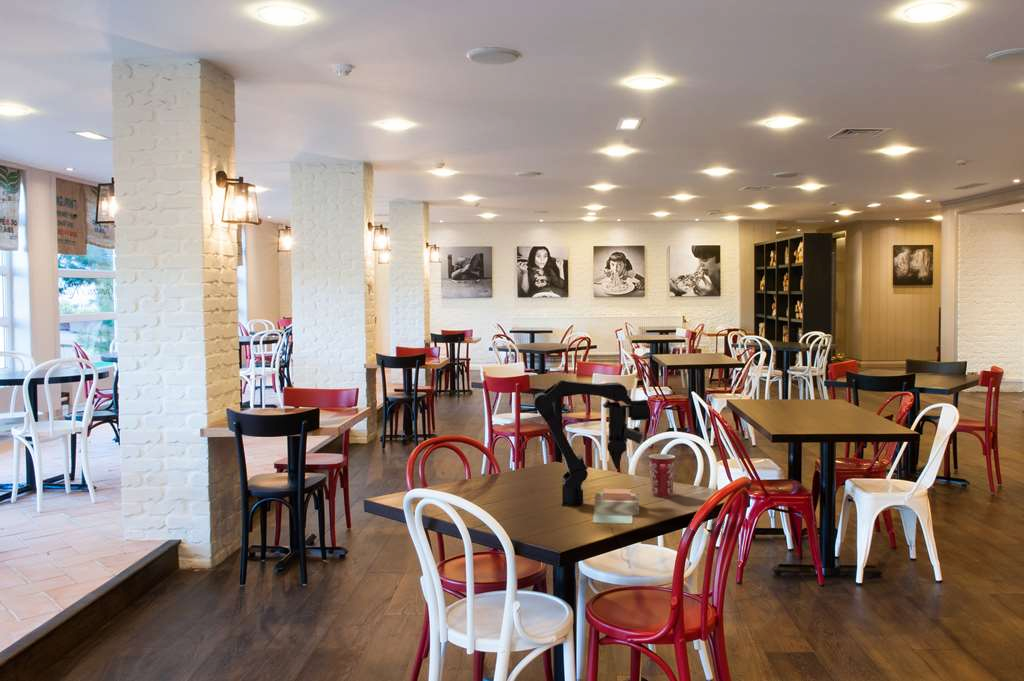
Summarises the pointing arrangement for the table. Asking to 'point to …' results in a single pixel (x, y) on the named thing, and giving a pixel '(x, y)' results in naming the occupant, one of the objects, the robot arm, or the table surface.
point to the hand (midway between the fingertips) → (617, 467)
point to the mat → (613, 518)
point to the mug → (662, 474)
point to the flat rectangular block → (617, 494)
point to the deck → (616, 505)
